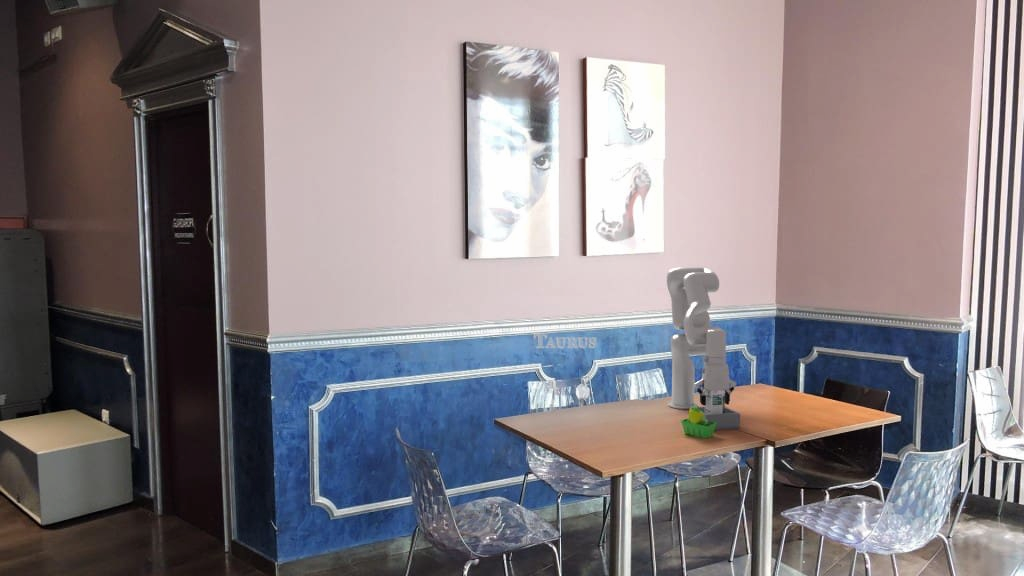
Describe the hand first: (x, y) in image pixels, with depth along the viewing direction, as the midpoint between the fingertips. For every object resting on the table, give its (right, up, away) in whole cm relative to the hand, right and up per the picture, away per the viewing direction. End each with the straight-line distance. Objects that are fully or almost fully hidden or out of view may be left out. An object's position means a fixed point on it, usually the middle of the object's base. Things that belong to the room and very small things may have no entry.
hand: (714, 404), depth 311 cm
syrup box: (0, -8, +1) cm, 8 cm away
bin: (0, -8, +1) cm, 8 cm away
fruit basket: (-10, -10, -14) cm, 20 cm away
